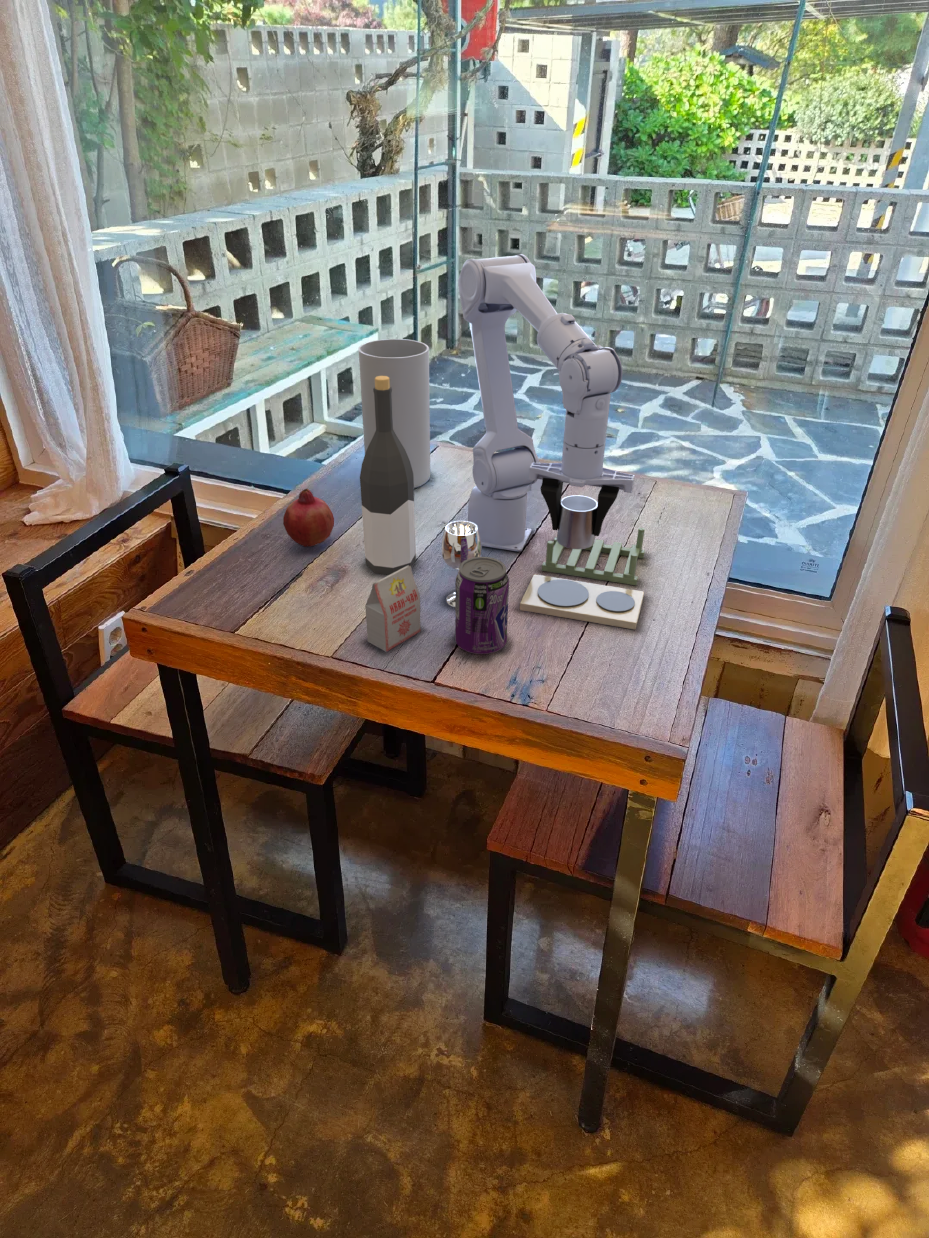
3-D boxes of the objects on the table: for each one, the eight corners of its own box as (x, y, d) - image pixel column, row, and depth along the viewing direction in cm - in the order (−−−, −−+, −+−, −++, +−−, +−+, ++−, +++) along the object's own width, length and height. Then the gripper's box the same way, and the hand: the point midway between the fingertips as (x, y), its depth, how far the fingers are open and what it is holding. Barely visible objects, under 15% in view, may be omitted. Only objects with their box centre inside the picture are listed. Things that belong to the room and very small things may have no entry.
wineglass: (452, 614, 120) (452, 540, 113) (435, 595, 124) (434, 524, 118) (487, 604, 122) (489, 532, 115) (469, 586, 126) (470, 516, 120)
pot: (553, 546, 119) (556, 508, 116) (560, 529, 124) (563, 493, 120) (591, 551, 118) (595, 513, 115) (597, 535, 122) (601, 497, 119)
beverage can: (489, 664, 110) (492, 587, 103) (445, 648, 113) (444, 572, 106) (515, 639, 115) (519, 564, 108) (472, 623, 118) (473, 550, 111)
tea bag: (367, 641, 114) (363, 579, 108) (402, 621, 118) (399, 560, 113) (386, 651, 112) (383, 588, 106) (420, 631, 116) (419, 569, 111)
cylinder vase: (441, 472, 163) (440, 344, 149) (412, 496, 153) (408, 361, 140) (385, 461, 167) (380, 336, 154) (354, 484, 158) (345, 352, 144)
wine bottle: (387, 547, 137) (378, 366, 120) (426, 561, 133) (422, 376, 116) (355, 566, 131) (341, 379, 115) (394, 581, 127) (385, 390, 111)
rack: (541, 570, 131) (543, 542, 128) (554, 542, 139) (556, 515, 136) (636, 585, 127) (640, 557, 124) (644, 555, 135) (648, 528, 132)
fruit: (343, 548, 136) (339, 493, 131) (297, 560, 133) (291, 504, 127) (324, 529, 142) (318, 475, 136) (279, 540, 138) (272, 485, 133)
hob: (519, 610, 121) (519, 601, 120) (533, 580, 128) (534, 572, 127) (635, 630, 117) (637, 621, 116) (643, 598, 124) (644, 589, 123)
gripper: (525, 445, 111) (521, 535, 118) (634, 457, 107) (622, 549, 115) (537, 427, 116) (532, 514, 124) (640, 439, 113) (629, 527, 120)
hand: (576, 530), depth 120 cm, fingers closed on pot, 5 cm apart
